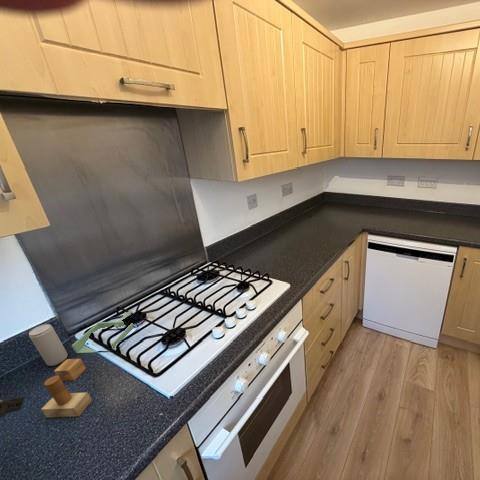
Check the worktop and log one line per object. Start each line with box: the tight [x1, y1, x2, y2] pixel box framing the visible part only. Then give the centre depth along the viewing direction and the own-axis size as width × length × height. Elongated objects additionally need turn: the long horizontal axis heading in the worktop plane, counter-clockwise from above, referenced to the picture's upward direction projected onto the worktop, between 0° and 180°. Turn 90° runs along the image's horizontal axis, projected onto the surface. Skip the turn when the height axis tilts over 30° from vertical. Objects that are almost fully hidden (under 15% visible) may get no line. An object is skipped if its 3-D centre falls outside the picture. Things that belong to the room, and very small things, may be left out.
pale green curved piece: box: [71, 310, 134, 354], centre depth 88 cm, size 18×13×3 cm
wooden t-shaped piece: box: [40, 375, 93, 418], centre depth 62 cm, size 8×4×10 cm, turn 90°
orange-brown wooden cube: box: [53, 358, 87, 382], centre depth 73 cm, size 4×4×4 cm
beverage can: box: [28, 323, 69, 367], centre depth 76 cm, size 5×5×12 cm
